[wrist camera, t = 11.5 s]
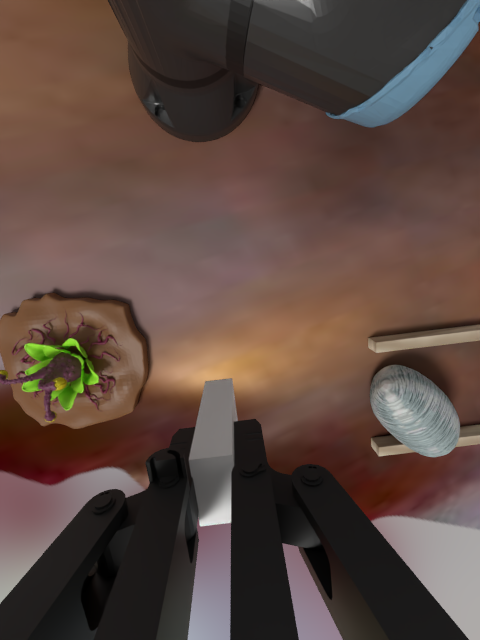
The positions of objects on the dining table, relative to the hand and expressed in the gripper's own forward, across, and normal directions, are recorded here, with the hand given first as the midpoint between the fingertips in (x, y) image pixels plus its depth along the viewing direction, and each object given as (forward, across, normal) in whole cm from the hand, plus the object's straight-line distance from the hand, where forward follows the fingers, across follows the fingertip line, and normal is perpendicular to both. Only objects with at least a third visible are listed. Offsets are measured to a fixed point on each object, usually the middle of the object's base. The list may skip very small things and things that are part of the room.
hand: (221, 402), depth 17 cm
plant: (+27, -22, -4) cm, 35 cm away
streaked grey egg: (+27, +24, -16) cm, 40 cm away
